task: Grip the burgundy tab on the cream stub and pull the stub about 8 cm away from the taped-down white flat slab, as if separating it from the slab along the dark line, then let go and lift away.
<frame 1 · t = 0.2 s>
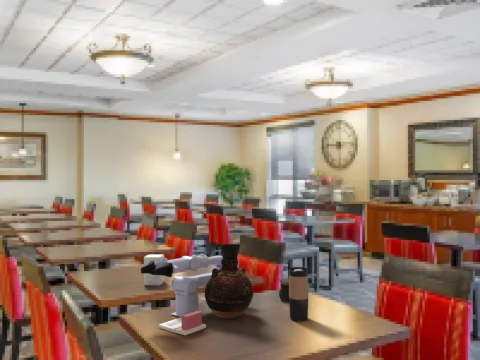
hand: (147, 271, 178), 21 cm above the table, tool horizontal, fingers open, 7 cm apart
supplement box: (154, 283, 249), on the table
travel mug: (298, 319, 187), on the table
ceramic vessel: (229, 316, 191), on the table
stub: (190, 321, 174), point 3 cm above the table, slide at 0.0 cm
mate gourd: (286, 300, 214), on the table
white flat slab: (177, 326, 178), on the table
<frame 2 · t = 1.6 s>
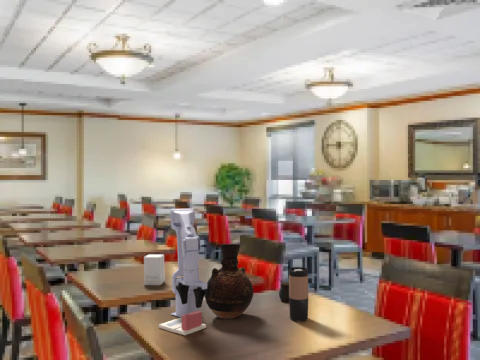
hand: (191, 305, 173), 9 cm above the table, tool pointing down, fingers open, 7 cm apart
nothing on the table moved.
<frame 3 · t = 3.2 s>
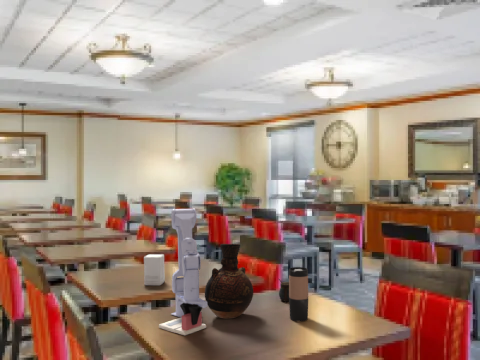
hand: (191, 323, 173), 3 cm above the table, tool pointing down, fingers closed on stub, 2 cm apart
stub: (190, 321, 174), point 3 cm above the table, slide at 0.0 cm, touching gripper
everything else where it was.
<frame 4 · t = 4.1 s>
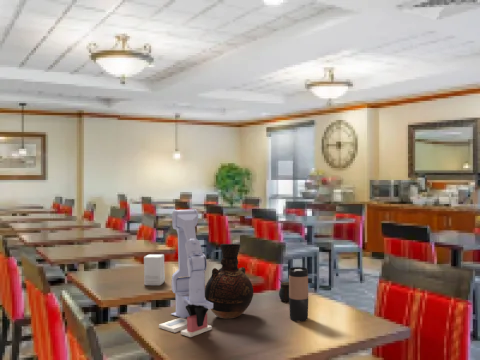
hand: (197, 325, 172), 3 cm above the table, tool pointing down, fingers closed on stub, 2 cm apart
stub: (196, 323, 172), point 3 cm above the table, slide at 2.9 cm, touching gripper
everything else where it was.
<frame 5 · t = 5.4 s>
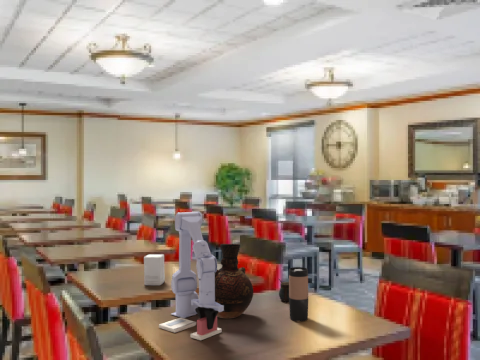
hand: (207, 327, 168), 3 cm above the table, tool pointing down, fingers closed on stub, 2 cm apart
stub: (206, 326, 169), point 3 cm above the table, slide at 8.0 cm, touching gripper
everything else where it was.
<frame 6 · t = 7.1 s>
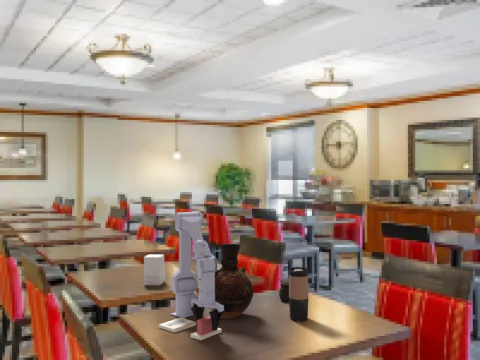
hand: (207, 327, 168), 3 cm above the table, tool pointing down, fingers open, 7 cm apart
stub: (206, 326, 169), point 3 cm above the table, slide at 8.0 cm
everything else where it was.
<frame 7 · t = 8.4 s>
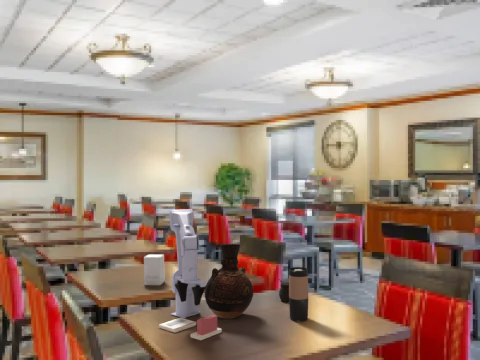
hand: (190, 303, 177), 9 cm above the table, tool pointing down, fingers open, 7 cm apart
nothing on the table moved.
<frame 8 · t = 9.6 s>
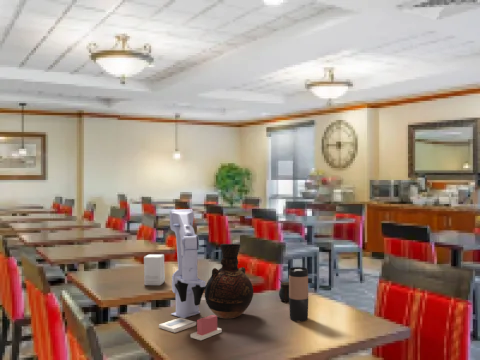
hand: (190, 303, 177), 9 cm above the table, tool pointing down, fingers open, 7 cm apart
nothing on the table moved.
at the end: stub slide at 8.0 cm; the gripper is holding nothing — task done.
